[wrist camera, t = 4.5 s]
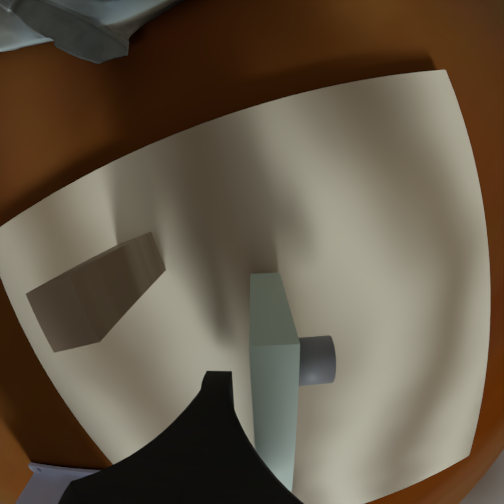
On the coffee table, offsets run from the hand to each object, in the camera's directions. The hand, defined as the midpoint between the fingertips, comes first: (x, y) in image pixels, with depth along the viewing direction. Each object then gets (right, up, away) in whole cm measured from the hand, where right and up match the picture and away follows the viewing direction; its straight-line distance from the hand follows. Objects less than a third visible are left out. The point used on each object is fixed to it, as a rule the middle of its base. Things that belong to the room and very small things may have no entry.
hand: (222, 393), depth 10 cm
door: (+2, -3, +2) cm, 5 cm away
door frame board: (+2, -2, +3) cm, 5 cm away
